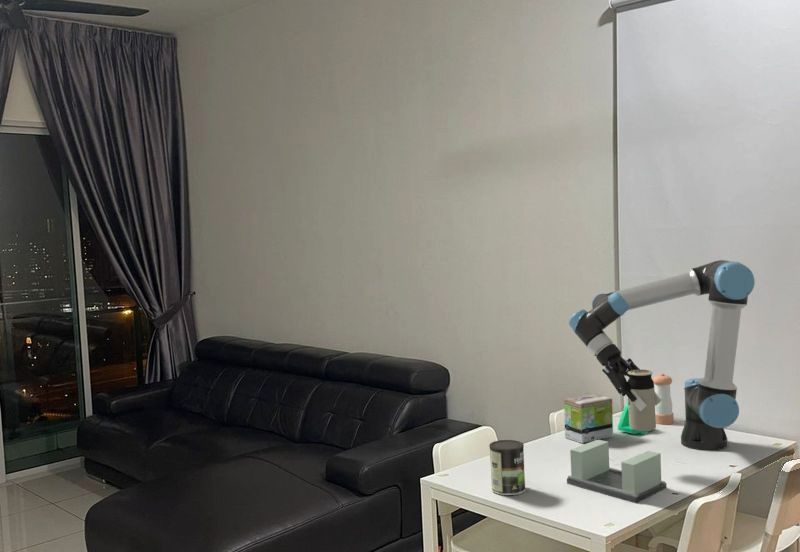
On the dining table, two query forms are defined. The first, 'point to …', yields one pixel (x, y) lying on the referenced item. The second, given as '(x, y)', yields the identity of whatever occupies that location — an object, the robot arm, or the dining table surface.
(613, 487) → the rail plate
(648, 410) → the travel mug
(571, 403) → the tea box
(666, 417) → the pepper shaker
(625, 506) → the dining table surface
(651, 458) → the grey block holder
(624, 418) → the camera mount
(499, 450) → the coffee can
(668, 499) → the dining table surface
